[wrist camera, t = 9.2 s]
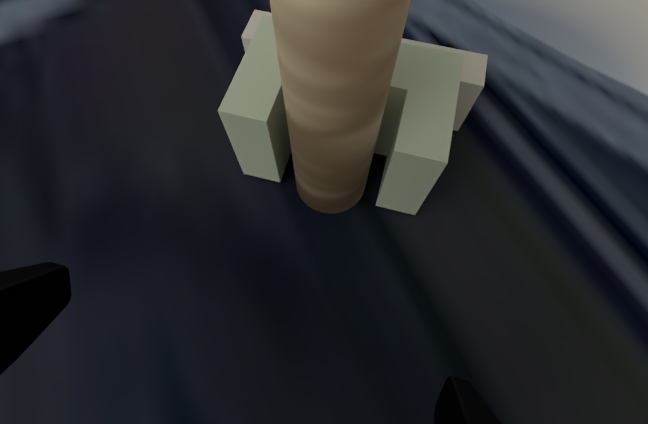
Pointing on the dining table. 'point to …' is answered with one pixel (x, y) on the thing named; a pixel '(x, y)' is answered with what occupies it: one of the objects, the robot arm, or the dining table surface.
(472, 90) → the kerb
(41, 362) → the dining table surface
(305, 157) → the dowel
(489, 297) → the dining table surface
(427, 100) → the block
